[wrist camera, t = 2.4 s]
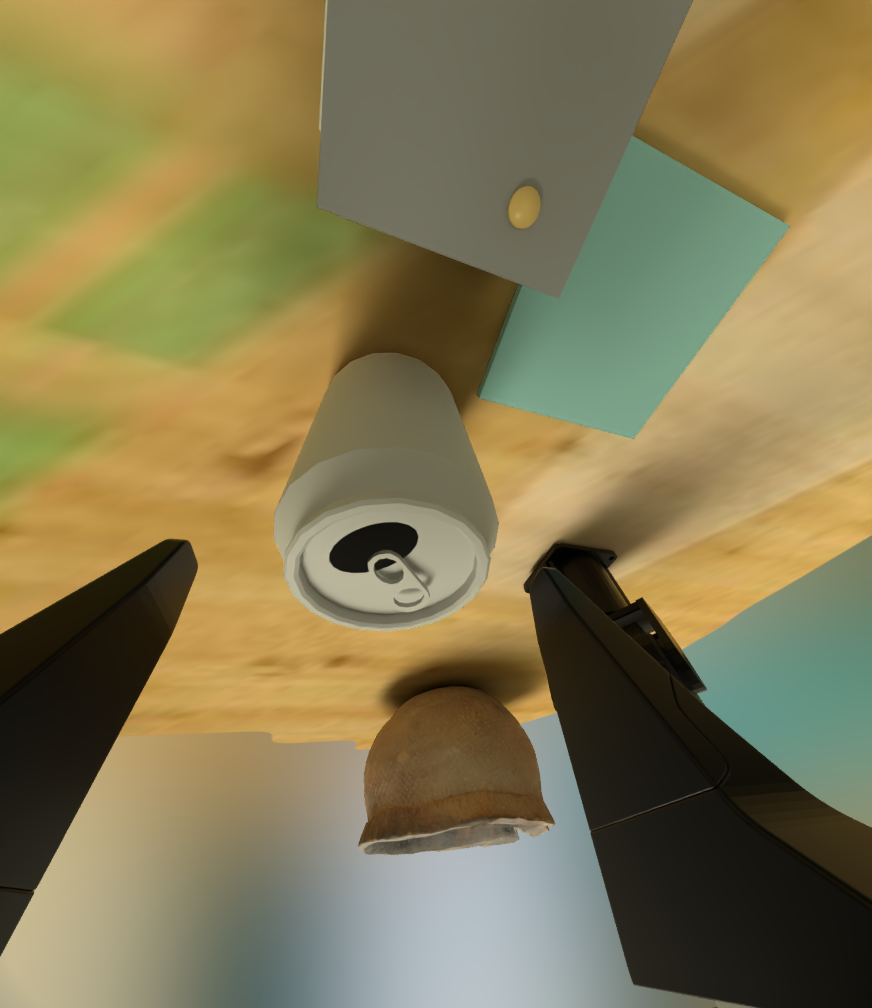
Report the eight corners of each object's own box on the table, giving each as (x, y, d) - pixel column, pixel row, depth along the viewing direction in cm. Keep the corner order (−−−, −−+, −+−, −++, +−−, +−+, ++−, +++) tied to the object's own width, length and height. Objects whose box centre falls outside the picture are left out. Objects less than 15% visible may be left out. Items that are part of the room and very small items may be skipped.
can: (415, 317, 16) (449, 428, 7) (473, 437, 20) (540, 600, 11) (295, 391, 17) (188, 562, 8) (373, 486, 22) (360, 665, 13)
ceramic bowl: (496, 718, 56) (523, 843, 44) (368, 730, 53) (361, 868, 41) (534, 657, 42) (589, 816, 30) (363, 668, 39) (352, 850, 27)
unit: (598, -12, 10) (830, -291, 5) (499, 277, 15) (561, 299, 10) (368, -173, 9) (327, -929, 3) (336, 215, 13) (297, 199, 8)
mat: (778, 226, 15) (790, 226, 15) (628, 434, 22) (633, 439, 21) (581, 115, 12) (589, 110, 12) (476, 394, 19) (479, 398, 18)
